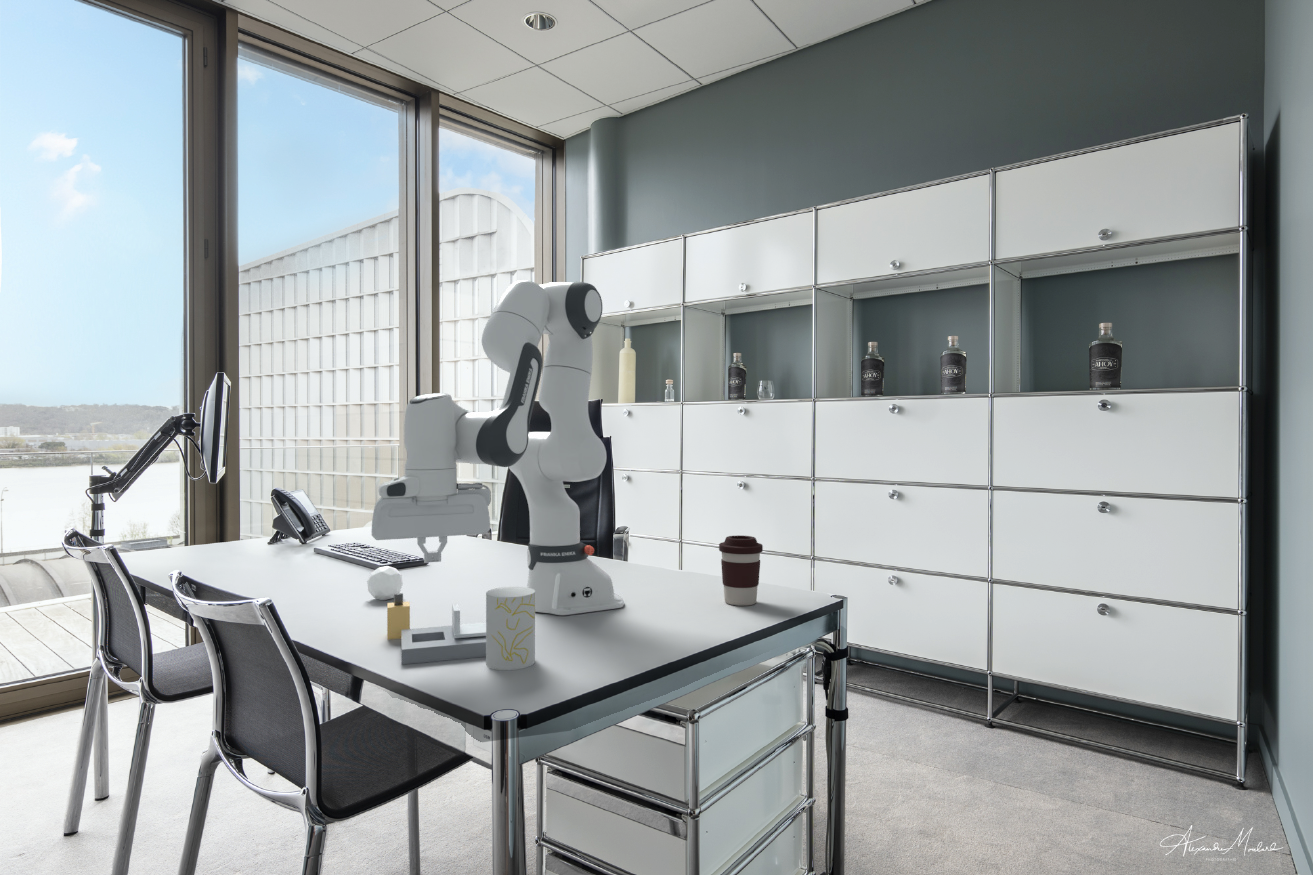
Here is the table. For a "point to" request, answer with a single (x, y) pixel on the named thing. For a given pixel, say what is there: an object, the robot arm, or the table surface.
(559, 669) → the table surface
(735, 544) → the coffee cup
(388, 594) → the geometric ball
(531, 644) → the cup
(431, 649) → the socket board
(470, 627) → the white l-shaped bracket
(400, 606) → the plug
